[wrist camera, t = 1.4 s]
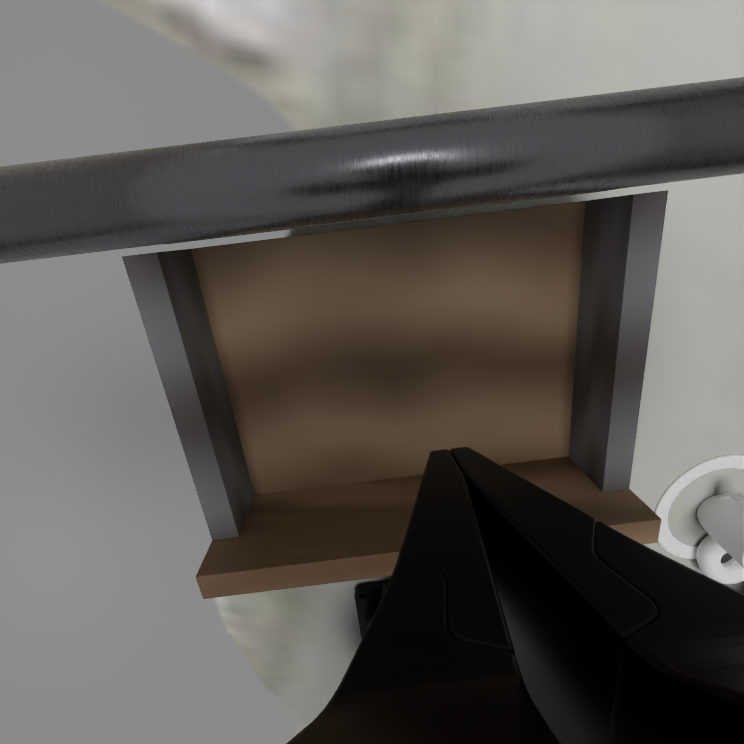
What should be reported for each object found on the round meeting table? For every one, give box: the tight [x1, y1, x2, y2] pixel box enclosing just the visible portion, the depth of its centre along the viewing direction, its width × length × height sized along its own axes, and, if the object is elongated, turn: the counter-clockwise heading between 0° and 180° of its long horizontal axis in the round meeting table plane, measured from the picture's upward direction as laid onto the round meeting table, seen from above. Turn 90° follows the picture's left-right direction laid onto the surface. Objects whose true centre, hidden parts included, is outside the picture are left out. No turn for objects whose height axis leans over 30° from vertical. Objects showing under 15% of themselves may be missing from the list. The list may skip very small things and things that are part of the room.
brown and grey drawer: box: [122, 191, 668, 599], centre depth 17 cm, size 14×19×7 cm
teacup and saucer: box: [655, 455, 744, 584], centre depth 23 cm, size 9×8×4 cm
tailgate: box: [0, 77, 744, 263], centre depth 11 cm, size 2×18×10 cm, turn 96°
